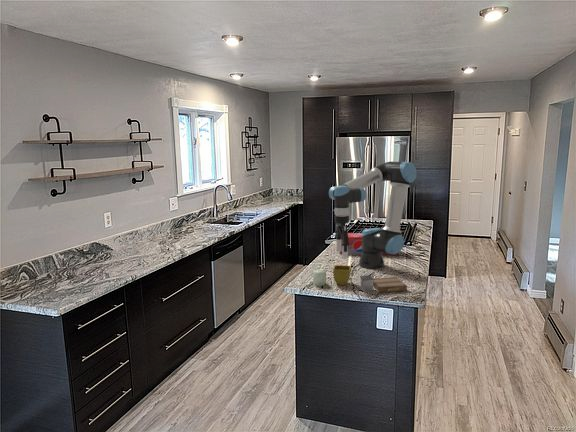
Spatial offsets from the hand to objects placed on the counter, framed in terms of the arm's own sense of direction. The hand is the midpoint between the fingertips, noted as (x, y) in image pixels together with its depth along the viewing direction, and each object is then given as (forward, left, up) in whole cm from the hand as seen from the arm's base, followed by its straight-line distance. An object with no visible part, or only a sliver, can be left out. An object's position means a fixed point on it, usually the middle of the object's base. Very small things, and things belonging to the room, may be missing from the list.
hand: (341, 254), depth 223 cm
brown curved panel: (+11, +22, -16) cm, 30 cm away
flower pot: (0, 0, -17) cm, 17 cm away
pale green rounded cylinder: (-2, -12, -16) cm, 20 cm away
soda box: (-60, +34, -17) cm, 71 cm away
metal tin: (+12, +10, -16) cm, 23 cm away
